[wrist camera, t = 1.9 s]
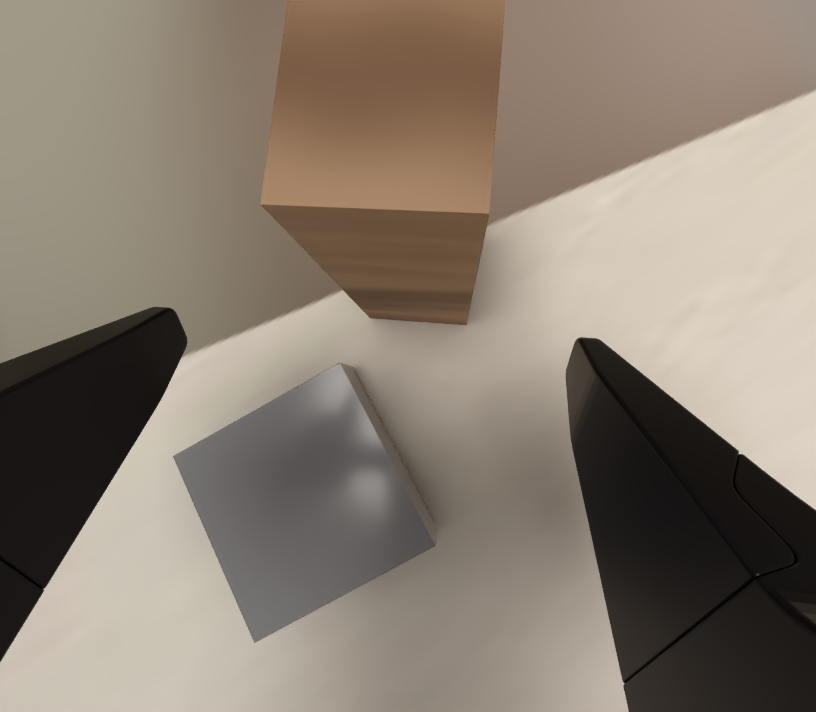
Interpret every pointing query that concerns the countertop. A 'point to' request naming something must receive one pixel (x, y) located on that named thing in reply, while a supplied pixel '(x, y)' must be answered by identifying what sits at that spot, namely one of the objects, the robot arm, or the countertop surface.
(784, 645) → the robot arm
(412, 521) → the light grey plinth
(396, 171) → the walnut pillar
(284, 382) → the countertop surface
